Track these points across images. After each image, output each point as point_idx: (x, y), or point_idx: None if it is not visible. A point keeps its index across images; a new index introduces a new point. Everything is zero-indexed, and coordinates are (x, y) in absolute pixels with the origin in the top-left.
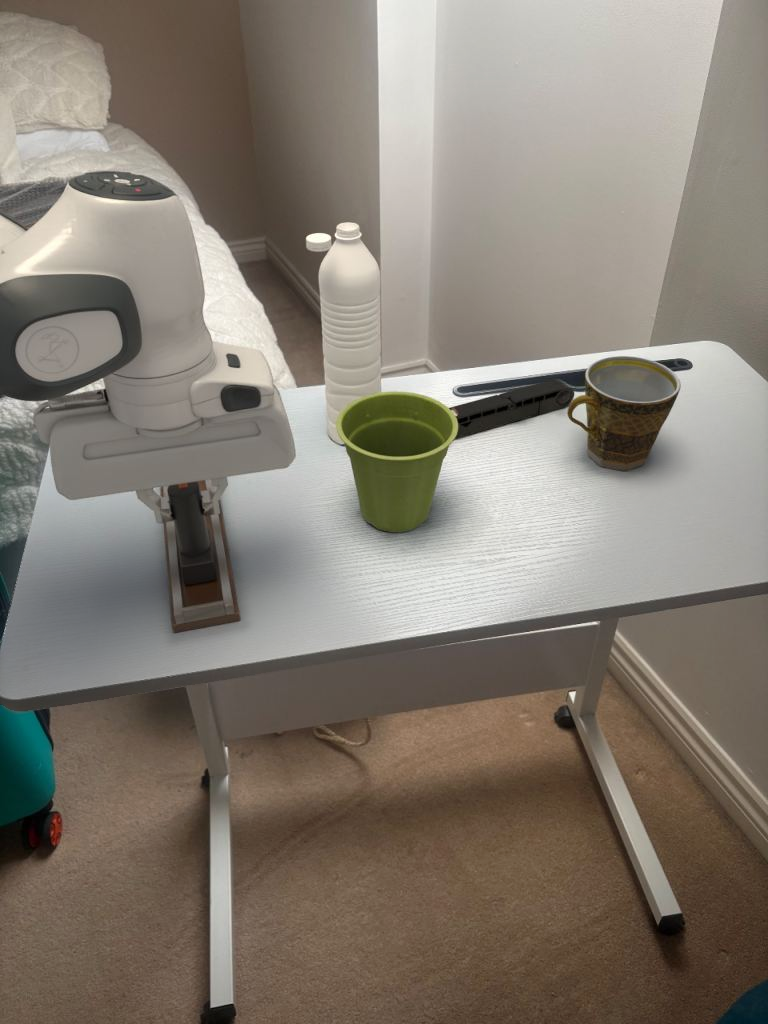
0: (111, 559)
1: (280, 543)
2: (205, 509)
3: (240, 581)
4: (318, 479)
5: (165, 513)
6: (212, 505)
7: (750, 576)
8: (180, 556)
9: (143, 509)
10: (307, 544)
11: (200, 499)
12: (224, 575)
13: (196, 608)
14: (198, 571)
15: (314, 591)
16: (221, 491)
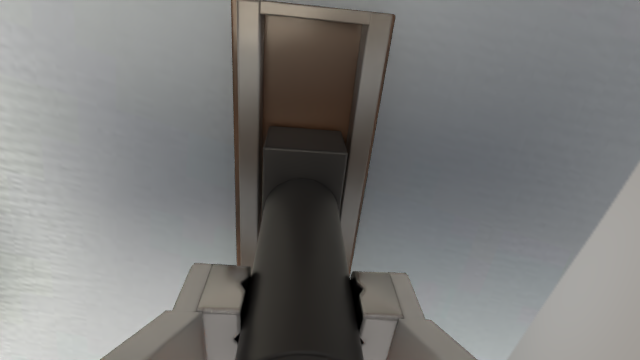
0: (444, 251)
1: (132, 205)
2: (236, 285)
3: (223, 126)
4: (59, 332)
5: (381, 299)
6: (204, 294)
7: None
8: (341, 188)
9: None
10: (73, 187)
11: (242, 329)
12: (247, 117)
13: (334, 8)
14: (306, 140)
15: (47, 36)
16: (130, 348)
